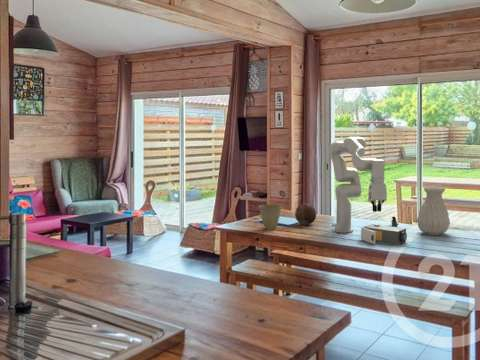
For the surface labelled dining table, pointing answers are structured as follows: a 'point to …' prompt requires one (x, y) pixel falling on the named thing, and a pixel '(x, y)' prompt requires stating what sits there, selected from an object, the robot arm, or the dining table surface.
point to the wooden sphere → (305, 214)
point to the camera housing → (388, 234)
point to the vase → (433, 213)
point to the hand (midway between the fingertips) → (376, 211)
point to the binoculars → (394, 222)
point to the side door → (368, 235)
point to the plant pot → (270, 215)
